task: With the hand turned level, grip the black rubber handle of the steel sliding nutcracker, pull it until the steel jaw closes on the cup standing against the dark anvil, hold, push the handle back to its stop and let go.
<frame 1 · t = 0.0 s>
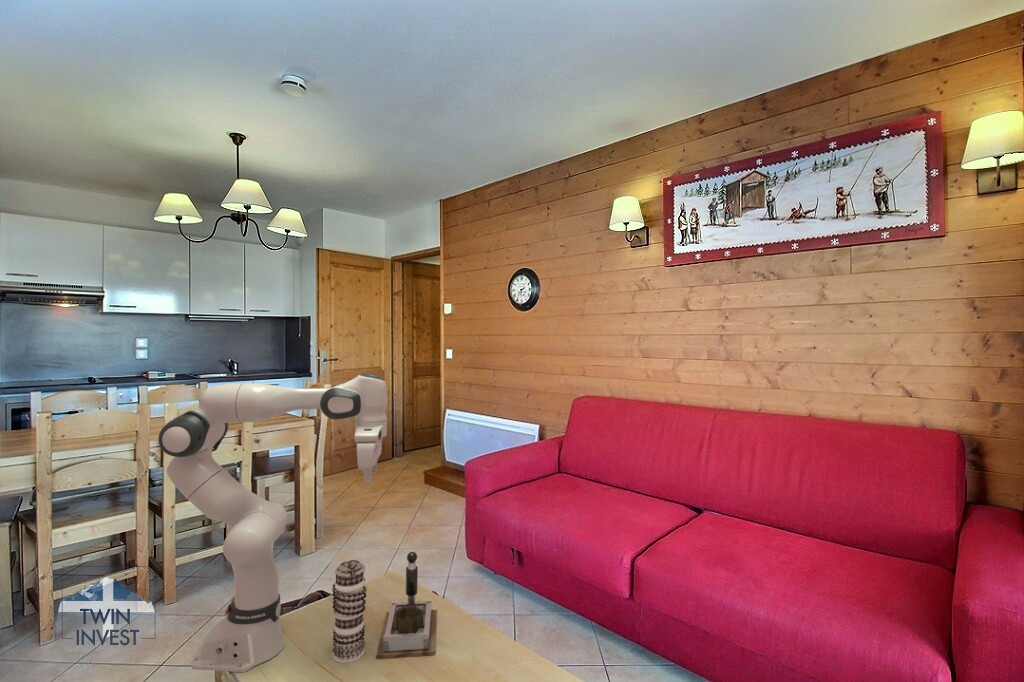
hand: (370, 477, 142), 48 cm above the table, tool pointing down, fingers open, 8 cm apart
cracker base: (407, 640, 143), on the table
cup: (408, 639, 144), resting in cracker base
decorative candle: (348, 653, 137), on the table
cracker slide: (409, 596, 147), point 11 cm above the table, slide at 0.0 cm
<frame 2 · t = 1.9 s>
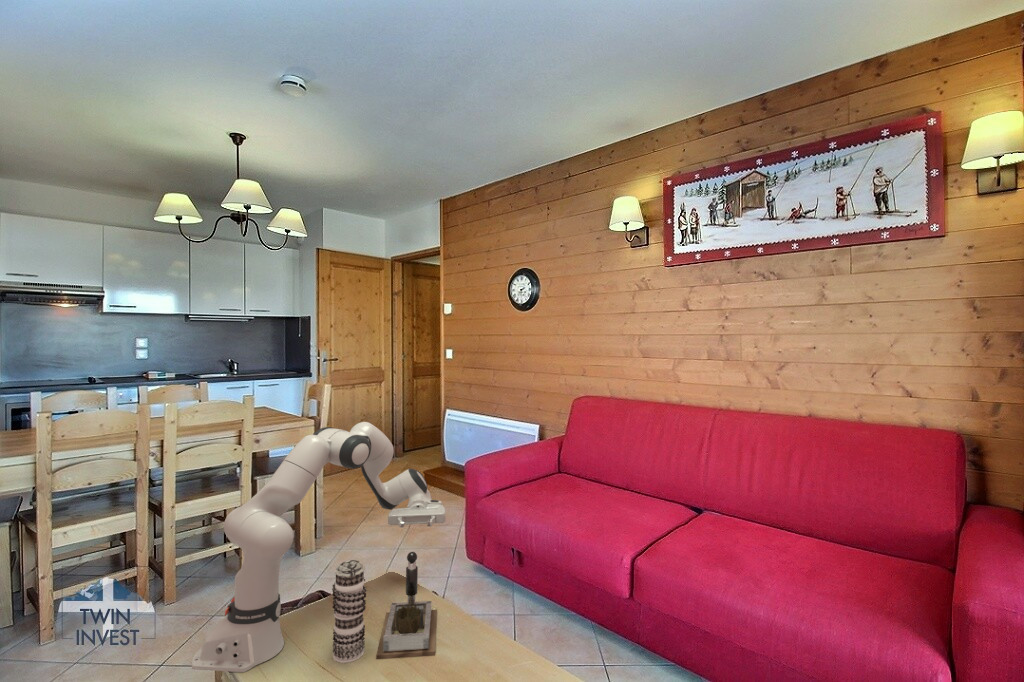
hand: (415, 524, 168), 25 cm above the table, tool horizontal, fingers open, 8 cm apart
nothing on the table moved.
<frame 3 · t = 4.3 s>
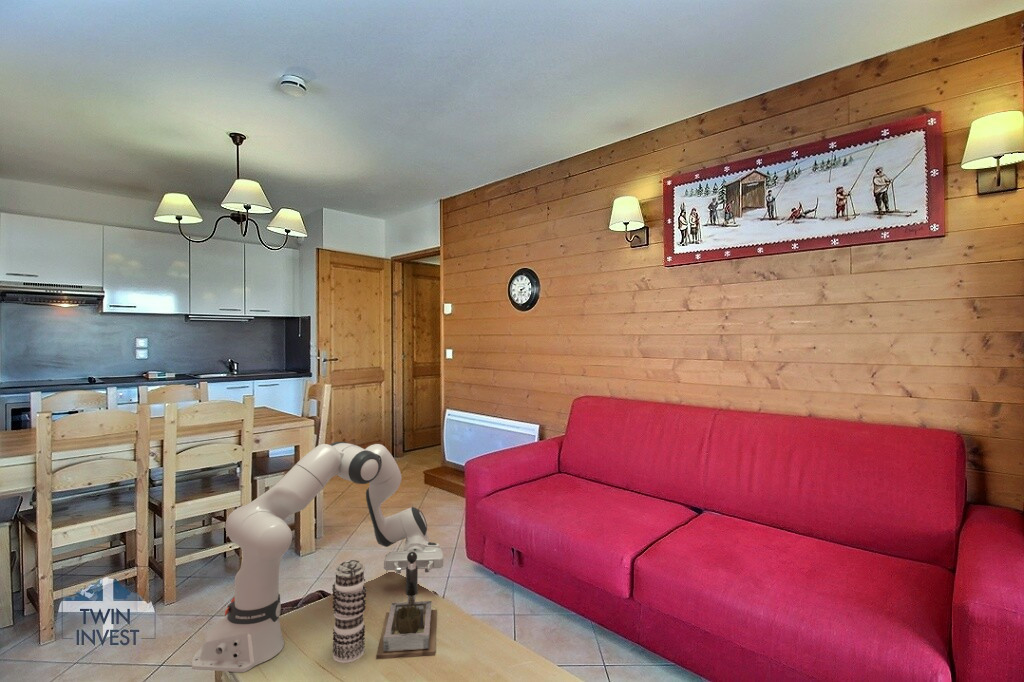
hand: (412, 570, 163), 11 cm above the table, tool horizontal, fingers open, 8 cm apart
nothing on the table moved.
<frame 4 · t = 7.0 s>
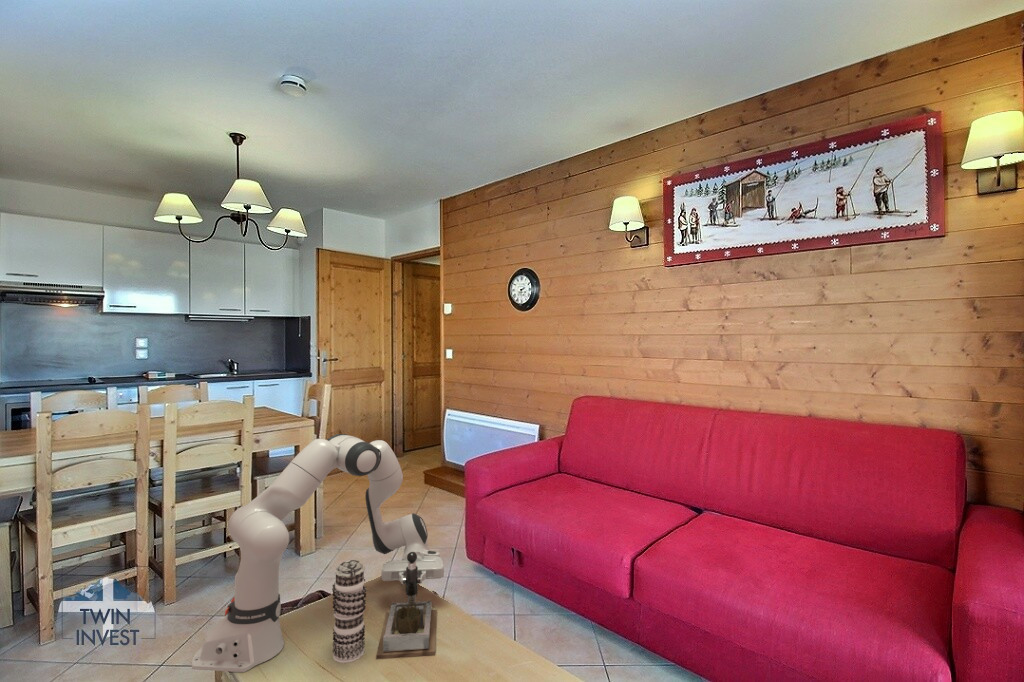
hand: (411, 581, 155), 12 cm above the table, tool horizontal, fingers closed on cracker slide, 4 cm apart
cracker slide: (409, 596, 147), point 11 cm above the table, slide at 0.0 cm, touching gripper
everything else where it was.
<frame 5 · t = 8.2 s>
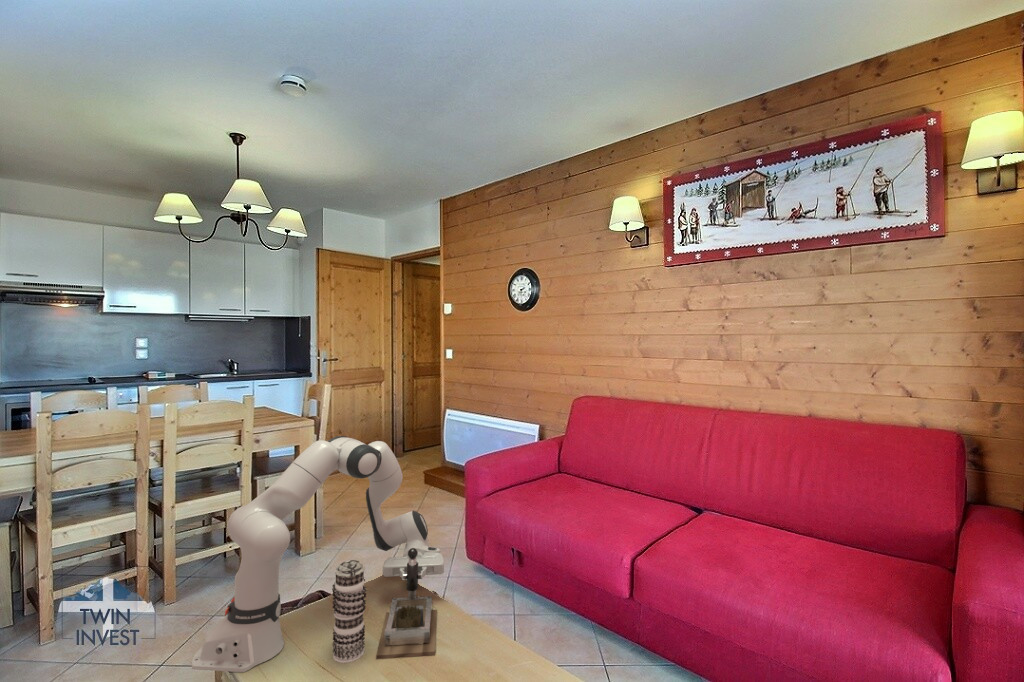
hand: (412, 577, 158), 12 cm above the table, tool horizontal, fingers closed on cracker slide, 4 cm apart
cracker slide: (410, 591, 150), point 11 cm above the table, slide at 2.8 cm, touching gripper
everything else where it was.
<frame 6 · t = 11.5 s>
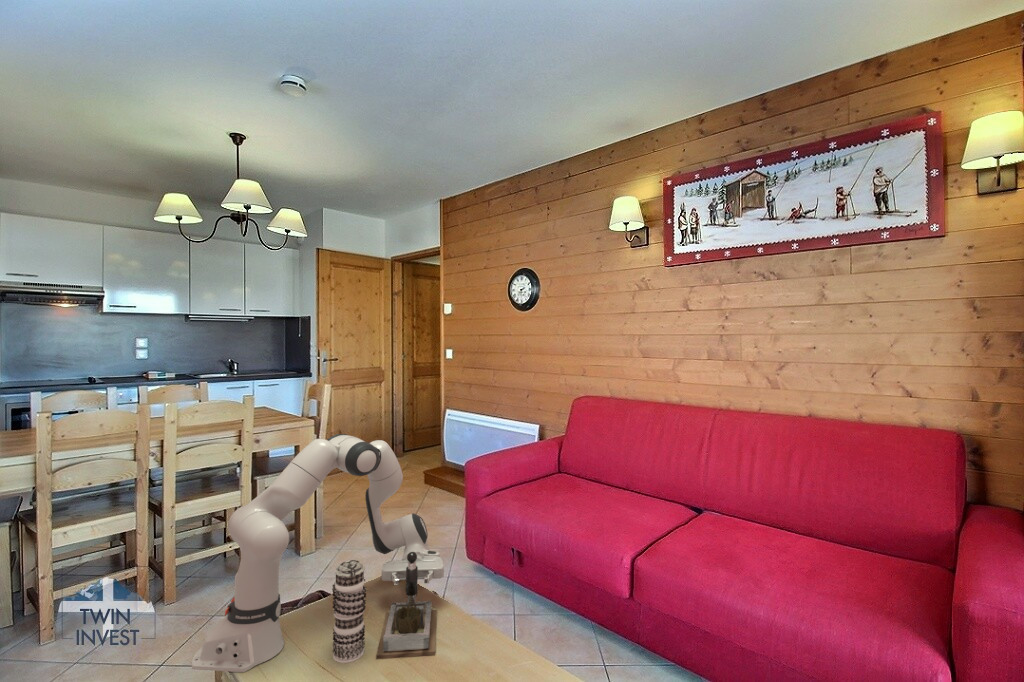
hand: (411, 581, 155), 12 cm above the table, tool horizontal, fingers open, 8 cm apart
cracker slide: (409, 596, 147), point 11 cm above the table, slide at 0.0 cm
everything else where it was.
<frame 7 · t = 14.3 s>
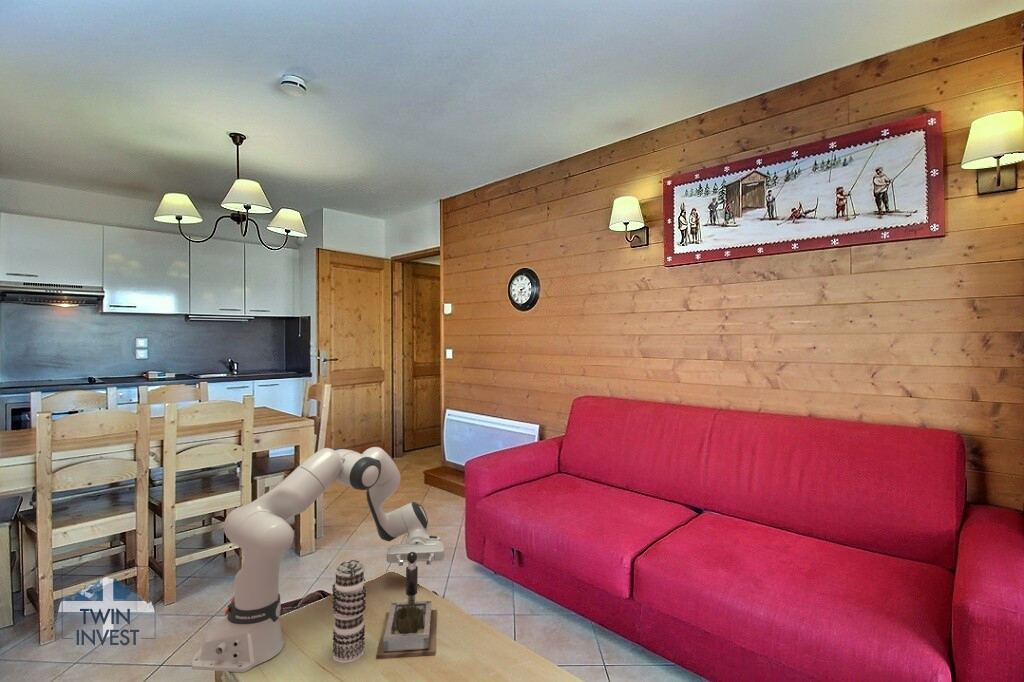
hand: (414, 563, 168), 12 cm above the table, tool horizontal, fingers open, 8 cm apart
nothing on the table moved.
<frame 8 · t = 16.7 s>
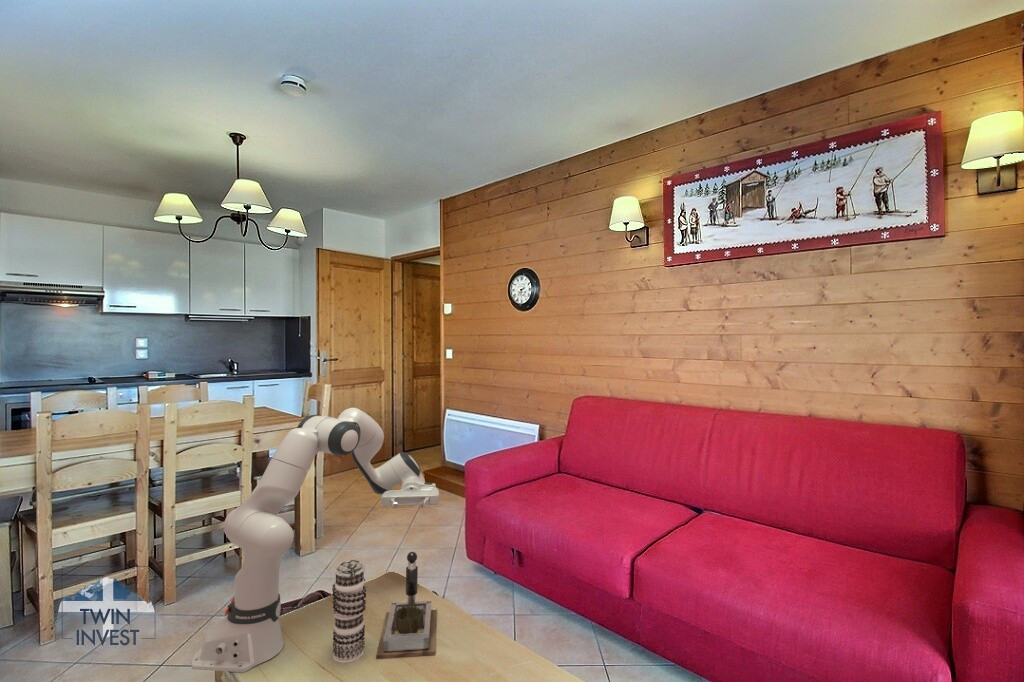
hand: (408, 505, 166), 32 cm above the table, tool horizontal, fingers open, 8 cm apart
nothing on the table moved.
at the end: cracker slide slide at 0.0 cm; cup moved 0.2 cm from its start; the gripper is holding nothing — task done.
